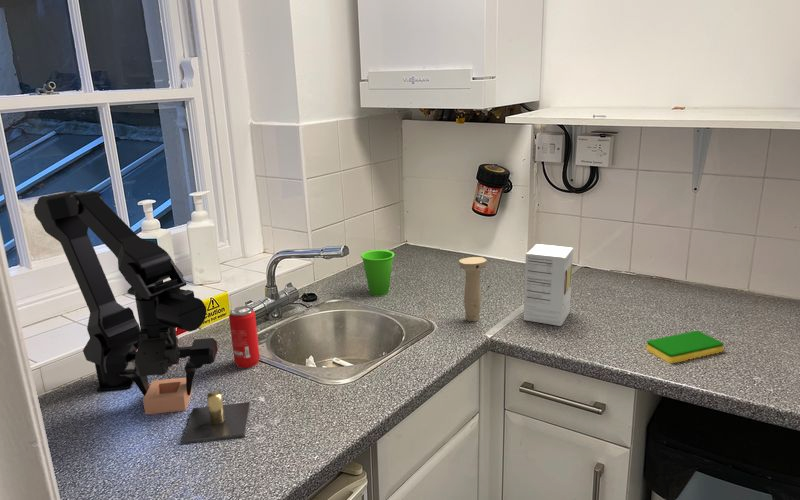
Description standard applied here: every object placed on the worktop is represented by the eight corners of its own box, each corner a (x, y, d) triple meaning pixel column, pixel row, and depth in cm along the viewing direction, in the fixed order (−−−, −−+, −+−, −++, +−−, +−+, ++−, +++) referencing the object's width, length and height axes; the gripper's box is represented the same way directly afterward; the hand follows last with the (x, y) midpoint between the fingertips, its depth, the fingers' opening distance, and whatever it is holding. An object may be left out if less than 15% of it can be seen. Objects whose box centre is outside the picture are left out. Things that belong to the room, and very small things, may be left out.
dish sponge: (645, 350, 126) (646, 340, 125) (696, 340, 130) (697, 329, 130) (669, 365, 120) (671, 354, 119) (723, 353, 124) (724, 343, 123)
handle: (456, 317, 145) (456, 259, 140) (480, 313, 146) (480, 256, 142) (464, 325, 140) (464, 265, 136) (489, 321, 142) (489, 261, 138)
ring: (145, 414, 107) (142, 399, 106) (154, 394, 114) (152, 380, 113) (185, 410, 108) (183, 395, 107) (192, 390, 115) (190, 376, 114)
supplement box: (561, 327, 138) (565, 258, 133) (522, 320, 142) (524, 253, 137) (570, 312, 146) (574, 246, 141) (533, 306, 150) (535, 242, 145)
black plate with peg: (182, 443, 98) (178, 413, 97) (193, 410, 108) (189, 383, 106) (244, 436, 100) (241, 407, 98) (250, 405, 109) (246, 377, 107)
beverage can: (230, 363, 125) (223, 311, 122) (251, 355, 128) (246, 303, 125) (243, 371, 121) (236, 317, 118) (264, 362, 125) (259, 310, 121)
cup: (392, 299, 157) (391, 259, 154) (359, 298, 159) (357, 259, 156) (398, 287, 166) (397, 249, 163) (366, 286, 167) (364, 249, 164)
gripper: (85, 343, 97) (101, 426, 102) (203, 333, 100) (214, 414, 104) (106, 316, 108) (121, 393, 112) (212, 308, 110) (222, 383, 115)
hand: (168, 396), depth 111 cm, fingers closed on ring, 7 cm apart
